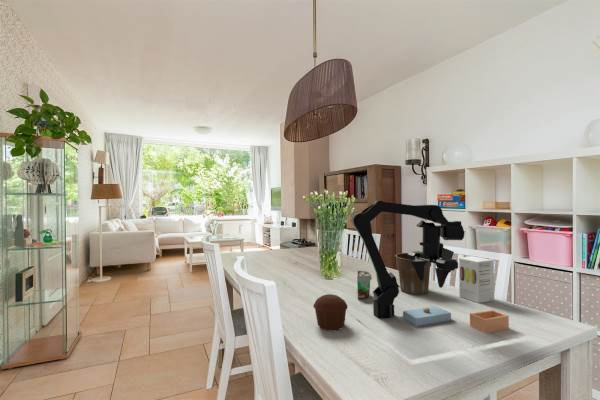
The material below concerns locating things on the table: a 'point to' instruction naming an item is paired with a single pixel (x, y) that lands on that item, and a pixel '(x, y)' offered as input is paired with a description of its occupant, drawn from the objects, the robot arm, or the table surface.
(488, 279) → the supplement box
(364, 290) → the food container
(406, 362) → the table surface
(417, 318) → the lid
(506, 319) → the orange open box
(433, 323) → the mat
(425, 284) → the plant pot
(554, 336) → the table surface
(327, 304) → the muffin
